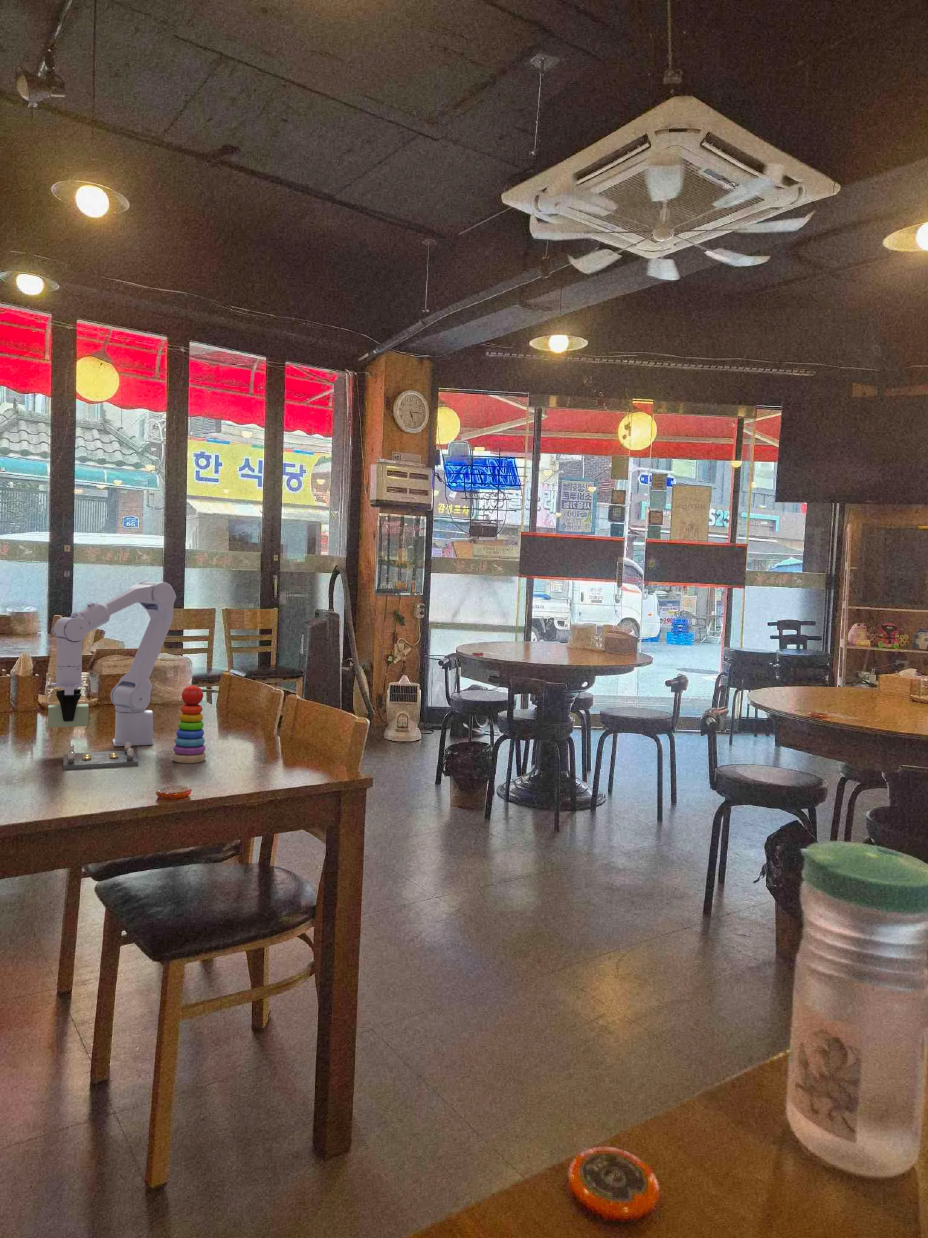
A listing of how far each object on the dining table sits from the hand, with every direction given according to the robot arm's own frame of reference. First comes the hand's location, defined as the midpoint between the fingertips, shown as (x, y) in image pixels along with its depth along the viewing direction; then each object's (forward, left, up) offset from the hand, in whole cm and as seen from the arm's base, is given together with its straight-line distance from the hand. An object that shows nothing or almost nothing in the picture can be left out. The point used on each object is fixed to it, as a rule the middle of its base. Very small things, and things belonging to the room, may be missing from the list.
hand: (68, 719), depth 206 cm
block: (0, 0, -1) cm, 1 cm away
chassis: (-7, +12, -8) cm, 16 cm away
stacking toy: (-27, +16, -9) cm, 33 cm away
